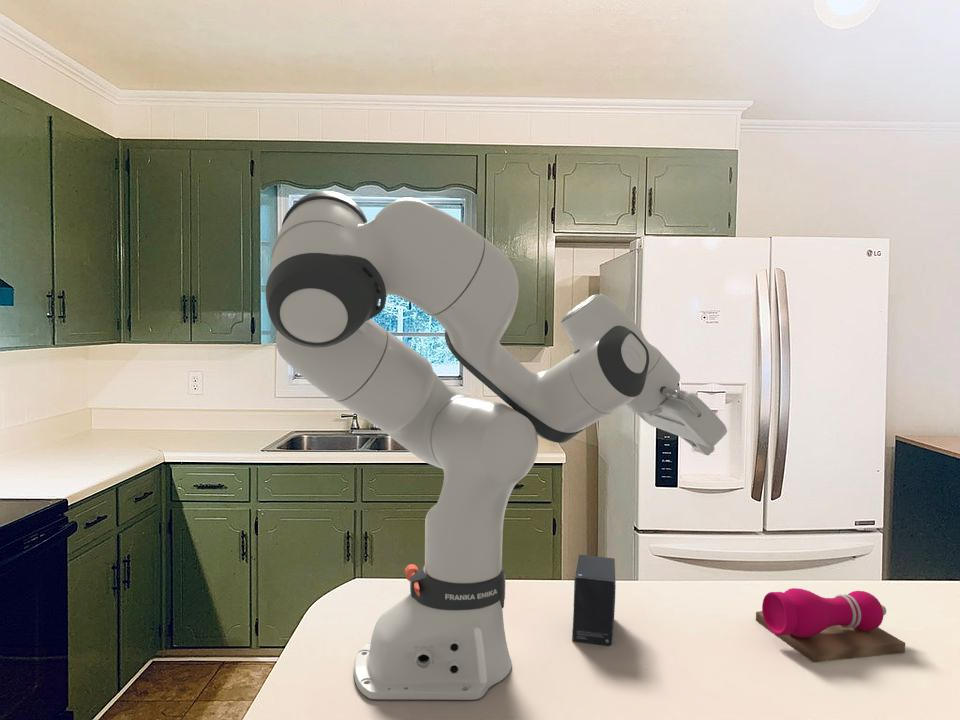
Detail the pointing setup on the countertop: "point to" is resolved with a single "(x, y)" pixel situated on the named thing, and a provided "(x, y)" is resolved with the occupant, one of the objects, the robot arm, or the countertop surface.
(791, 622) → the pepper mill
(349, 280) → the robot arm
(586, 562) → the small box
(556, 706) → the countertop surface
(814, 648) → the walnut board
